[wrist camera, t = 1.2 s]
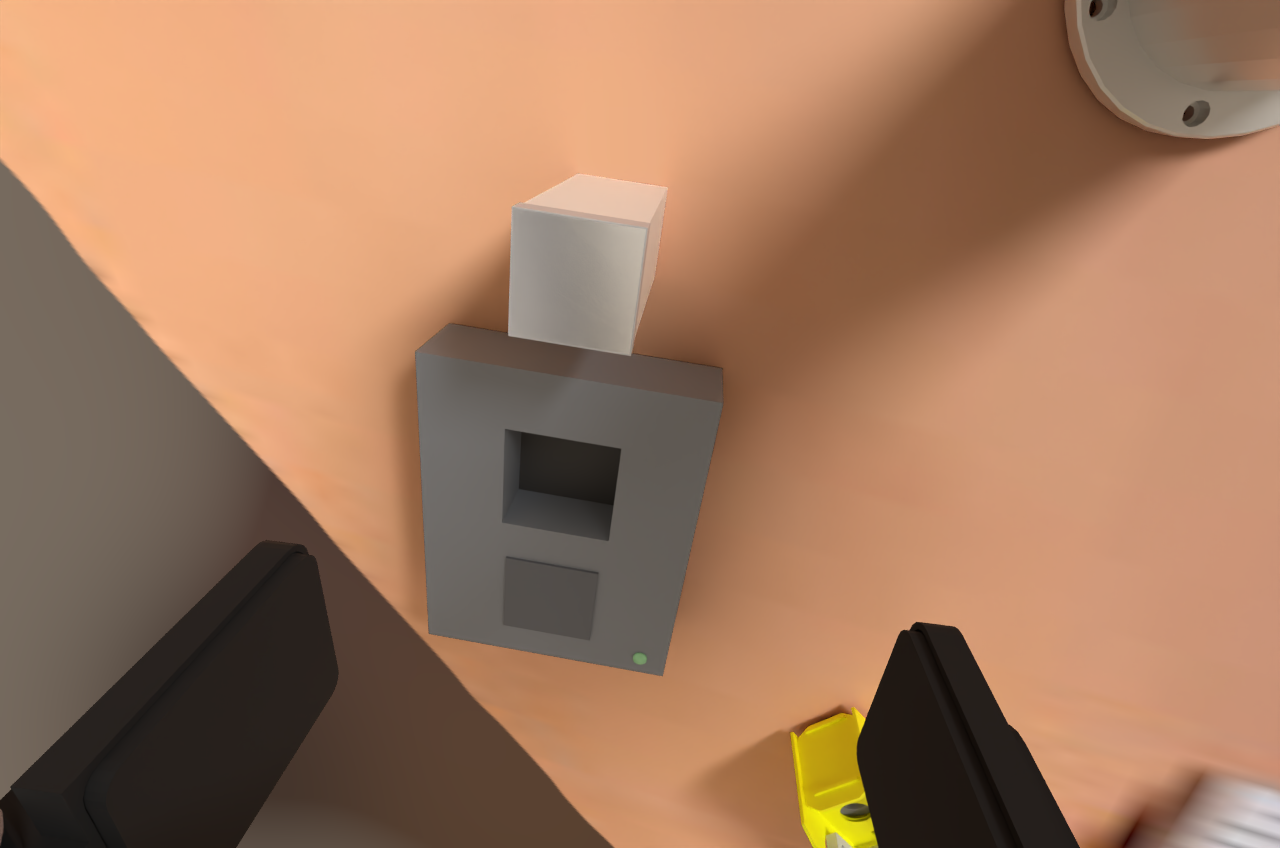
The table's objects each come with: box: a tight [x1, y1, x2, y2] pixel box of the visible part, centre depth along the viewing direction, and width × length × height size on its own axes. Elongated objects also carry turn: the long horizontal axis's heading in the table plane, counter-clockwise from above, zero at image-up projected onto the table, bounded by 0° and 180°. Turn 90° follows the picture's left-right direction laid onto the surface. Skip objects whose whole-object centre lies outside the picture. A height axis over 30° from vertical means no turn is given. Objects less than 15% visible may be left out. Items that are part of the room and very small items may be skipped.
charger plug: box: [508, 173, 668, 356], centre depth 23 cm, size 4×4×10 cm
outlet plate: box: [415, 323, 723, 676], centre depth 33 cm, size 18×14×4 cm
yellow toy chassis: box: [790, 707, 878, 848], centre depth 40 cm, size 16×6×8 cm, turn 40°
